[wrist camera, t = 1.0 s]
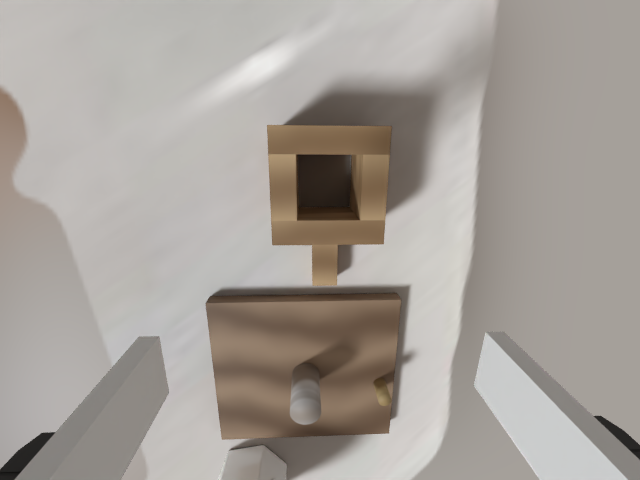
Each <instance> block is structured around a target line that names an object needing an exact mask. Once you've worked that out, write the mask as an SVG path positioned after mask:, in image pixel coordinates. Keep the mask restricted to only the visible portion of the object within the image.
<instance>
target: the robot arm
mask: <svg viewBox="0 0 640 480" xmlns="http://www.w3.org/2000/svg"><path fill="white" fill-rule="evenodd" d="M474 386H475V388H476V389H477V391H478V392H479V393H480V395H481V396H482V398H483V399H484V401H485V402H486V403H487V405H488V406H489V408H490V409H491V411H492V412H493V414H494V415H495V416H496V418H497V419H498V421H499V422H500V424H501V425H502V426H503V428H504V429H505V431H506V432H507V434H508V435H509V436H510V438H511V439H512V441H513V442H514V443H515V445H516V446H517V448H518V449H519V451H520V452H521V454H522V455H523V456H524V458H525V459H526V461H527V462H528V464H529V465H530V466H531V468H532V469H533V471H534V472H535V474H536V475H537V476H538V478H539V479H540V480H640V445H639V444H638V443H637V442H636V441H635V440H634V439H632V438H631V437H630V436H629V435H628V434H627V433H626V432H625V431H623V430H622V429H620V428H619V427H617V426H616V425H614V424H612V423H611V422H609V421H608V420H606V419H605V418H603V417H602V416H593V415H591V414H590V413H589V412H588V411H587V410H586V409H585V408H584V407H583V406H582V405H581V404H580V403H579V402H577V400H575V398H573V397H572V396H571V395H570V394H569V393H568V392H567V391H566V390H565V389H564V388H563V387H562V386H561V385H560V384H559V383H558V382H556V381H555V380H554V379H553V378H552V377H551V376H550V375H549V374H548V373H547V372H546V371H544V369H543V368H542V367H541V366H539V365H538V364H537V363H536V362H535V361H534V360H533V359H532V358H531V357H530V356H529V355H528V354H527V353H526V352H525V351H523V350H522V349H521V348H520V347H519V346H518V345H517V344H516V343H515V342H514V341H513V340H512V339H511V338H510V337H509V336H508V335H507V334H506V333H504V332H486V333H485V338H484V342H483V347H482V351H481V356H480V361H479V365H478V370H477V374H476V379H475V383H474ZM168 394H169V389H168V384H167V378H166V372H165V367H164V361H163V355H162V350H161V344H160V338H159V336H154V337H138V338H137V340H136V341H135V342H134V343H133V344H132V345H131V346H130V348H129V349H128V350H127V351H126V352H125V353H124V355H123V356H122V357H121V358H120V359H119V360H118V361H117V363H116V364H115V365H114V366H113V367H112V368H111V369H110V371H109V372H108V373H107V374H106V375H105V376H104V377H103V379H102V380H101V381H100V382H99V383H98V384H97V385H96V387H95V388H94V389H93V390H92V391H91V393H90V394H89V395H88V396H87V397H86V398H85V399H84V400H83V402H82V403H81V404H80V405H79V406H78V408H76V410H75V411H74V412H73V413H72V414H71V415H70V416H69V418H68V419H67V420H66V421H65V422H64V423H63V425H62V426H61V427H60V428H59V429H58V430H57V431H56V432H52V433H41V434H40V435H39V436H37V437H36V438H35V439H33V440H32V441H30V443H28V444H26V445H25V446H24V447H22V448H21V449H20V450H18V451H17V452H16V453H15V454H14V456H13V457H12V458H11V459H10V460H9V461H8V462H7V463H6V464H5V465H4V466H3V467H2V468H1V469H0V480H121V478H122V476H123V475H124V473H125V471H126V469H127V467H128V466H129V464H130V462H131V460H132V459H133V457H134V455H135V453H136V451H137V449H138V448H139V446H140V444H141V442H142V440H143V439H144V437H145V435H146V433H147V431H148V430H149V428H150V426H151V424H152V422H153V421H154V419H155V417H156V415H157V413H158V412H159V410H160V408H161V406H162V404H163V403H164V401H165V399H166V397H167V395H168Z"/></svg>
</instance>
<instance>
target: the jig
mask: <svg viewBox="0 0 640 480" xmlns="http://www.w3.org/2000/svg"><path fill="white" fill-rule="evenodd" d="M400 308H401V299H400V297H399V296H398V294H397V293H379V294H318V295H257V296H210V297H209V299H208V300H207V302H206V310H207V319H208V327H209V336H210V344H211V353H212V361H213V369H214V378H215V386H216V395H217V403H218V411H219V420H220V428H221V437H222V440H224V439H250V438H277V437H304V436H331V435H358V434H385V433H389V427H390V416H391V405H392V394H393V384H394V373H395V362H396V351H397V341H398V330H399V319H400Z"/></svg>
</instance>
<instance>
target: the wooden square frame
mask: <svg viewBox="0 0 640 480" xmlns="http://www.w3.org/2000/svg"><path fill="white" fill-rule="evenodd" d="M391 130H392V126H316V125H267V134H268V156H269V179H270V202H271V225H272V245H312V281H313V286H323V285H337V259H338V245H354V244H384V230H385V216H386V202H387V187H388V173H389V158H390V144H391ZM298 154H325V155H351V180H350V207H299V186H298Z"/></svg>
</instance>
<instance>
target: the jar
mask: <svg viewBox="0 0 640 480" xmlns="http://www.w3.org/2000/svg"><path fill="white" fill-rule="evenodd" d="M286 472H287V464H286V463H285V462H284V461H282V460H281V459H280V458H279V457H278V456H276V455H275V454H274V453H273V452H272V451H270V450H269V449H268V448H267V447H265V446H264V445H259V446H253V447H247V448H242V449H236V450H230V451H228V453H227V456H226V458H225V461H224V464H223V466H222V469H221V471H220V474H219V477H218V480H286Z"/></svg>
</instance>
